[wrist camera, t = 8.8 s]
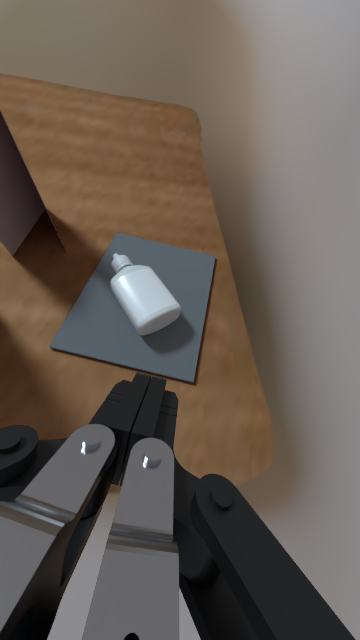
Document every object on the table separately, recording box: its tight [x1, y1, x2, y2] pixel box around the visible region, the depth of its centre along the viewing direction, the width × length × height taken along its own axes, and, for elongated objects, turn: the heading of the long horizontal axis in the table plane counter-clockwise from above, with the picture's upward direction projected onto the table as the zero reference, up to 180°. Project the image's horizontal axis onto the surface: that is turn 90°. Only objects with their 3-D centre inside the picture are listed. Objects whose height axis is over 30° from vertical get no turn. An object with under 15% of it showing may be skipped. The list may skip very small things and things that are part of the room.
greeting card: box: [0, 110, 66, 256], centre depth 25 cm, size 11×7×15 cm, turn 176°
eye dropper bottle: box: [111, 253, 181, 335], centre depth 25 cm, size 4×6×12 cm
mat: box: [49, 233, 216, 383], centre depth 27 cm, size 16×20×1 cm
